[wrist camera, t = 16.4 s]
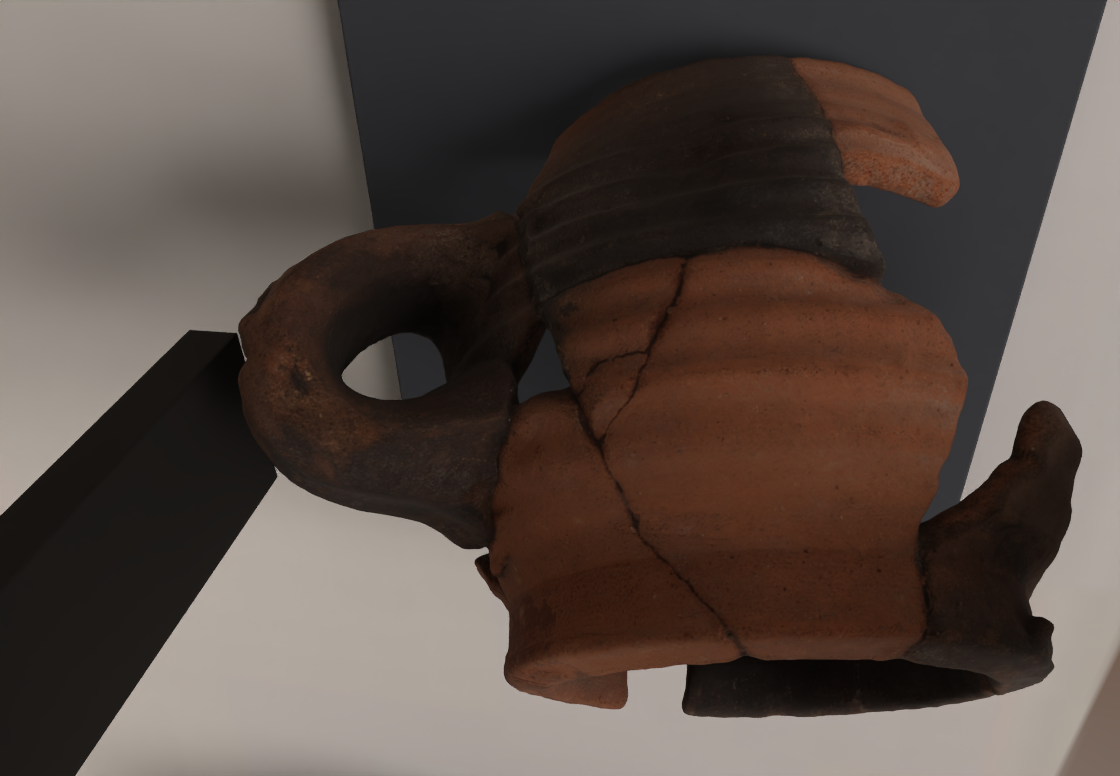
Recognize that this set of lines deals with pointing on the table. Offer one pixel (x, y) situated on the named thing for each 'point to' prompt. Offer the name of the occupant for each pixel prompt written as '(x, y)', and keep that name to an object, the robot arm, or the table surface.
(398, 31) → the mat
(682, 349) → the pottery mug
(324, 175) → the table surface
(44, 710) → the robot arm
